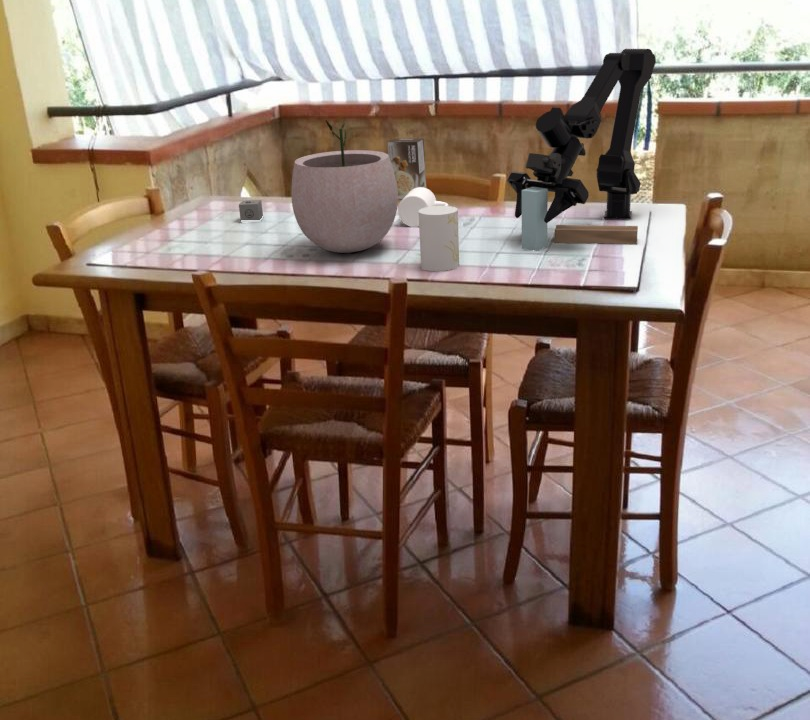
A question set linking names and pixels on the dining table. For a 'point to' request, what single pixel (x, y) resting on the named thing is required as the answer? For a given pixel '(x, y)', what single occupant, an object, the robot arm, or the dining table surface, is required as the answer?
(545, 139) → the robot arm
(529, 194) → the post
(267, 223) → the dining table surface
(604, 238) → the beam
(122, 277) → the dining table surface
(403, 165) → the coffee box
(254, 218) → the dice cube
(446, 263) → the white cylinder
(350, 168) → the plant pot
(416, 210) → the mug
